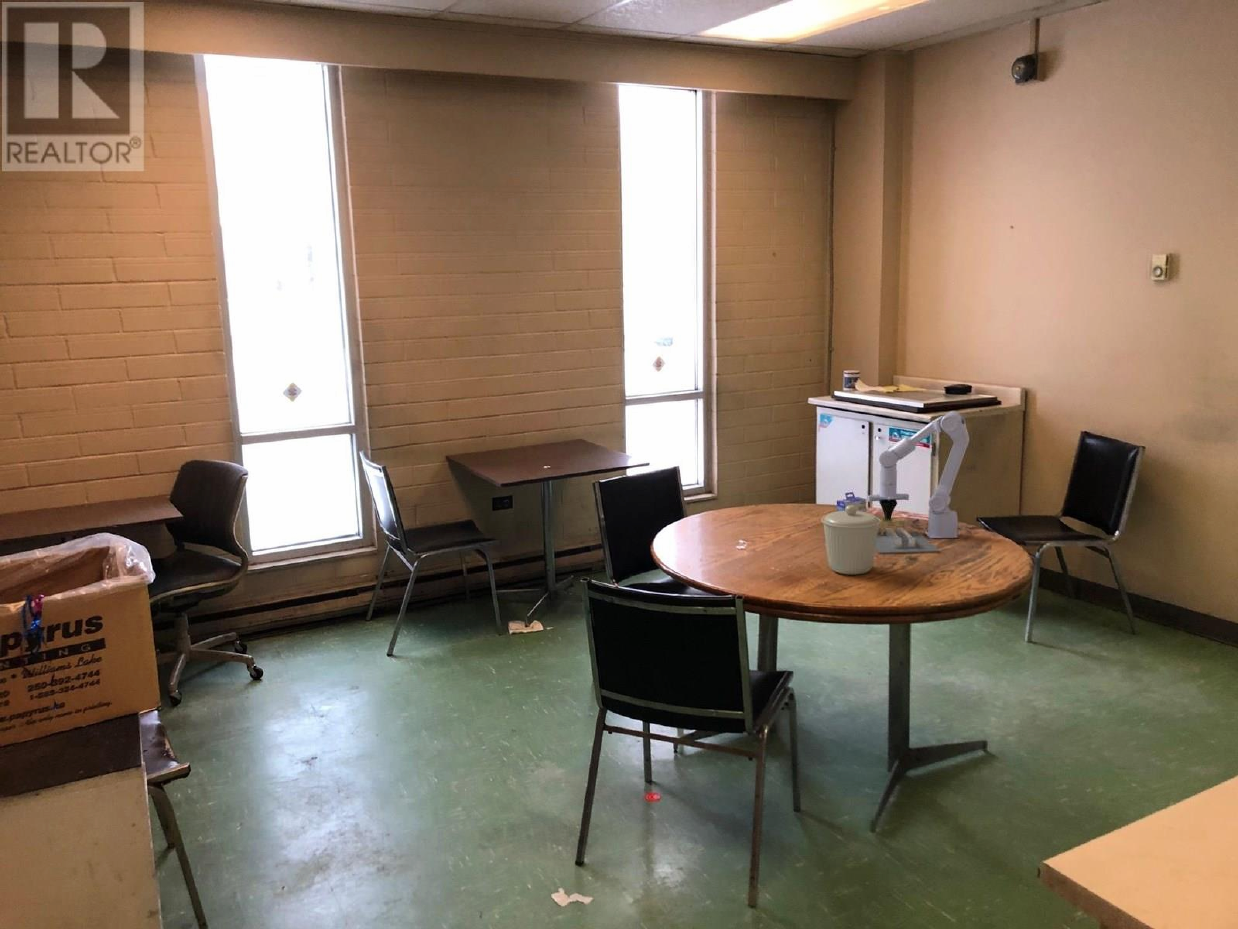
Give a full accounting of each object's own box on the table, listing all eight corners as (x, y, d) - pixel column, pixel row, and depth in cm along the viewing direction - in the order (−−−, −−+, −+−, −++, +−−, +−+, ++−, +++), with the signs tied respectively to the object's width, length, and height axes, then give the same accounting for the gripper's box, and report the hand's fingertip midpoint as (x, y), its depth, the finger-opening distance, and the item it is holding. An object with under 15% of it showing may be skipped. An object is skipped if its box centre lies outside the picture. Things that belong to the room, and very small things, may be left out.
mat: (917, 532, 349) (917, 530, 349) (939, 552, 324) (939, 550, 324) (861, 534, 350) (861, 532, 350) (878, 554, 324) (879, 552, 324)
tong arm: (890, 535, 344) (891, 527, 344) (901, 547, 328) (901, 539, 328) (884, 535, 345) (884, 527, 344) (894, 548, 328) (895, 539, 328)
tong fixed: (902, 534, 344) (902, 526, 344) (915, 547, 328) (915, 538, 328) (896, 535, 344) (896, 526, 344) (908, 547, 328) (908, 539, 328)
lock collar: (902, 532, 347) (902, 518, 347) (904, 534, 345) (904, 520, 344) (878, 533, 348) (879, 519, 347) (880, 535, 345) (881, 521, 344)
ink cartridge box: (857, 528, 358) (857, 490, 355) (867, 532, 353) (867, 492, 350) (835, 532, 353) (836, 493, 351) (845, 535, 349) (845, 496, 346)
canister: (823, 578, 301) (823, 512, 297) (819, 561, 318) (819, 499, 314) (883, 579, 298) (884, 512, 294) (876, 562, 316) (877, 498, 312)
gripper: (872, 486, 344) (871, 523, 347) (912, 484, 345) (911, 521, 348) (865, 482, 351) (865, 519, 354) (905, 480, 352) (904, 516, 355)
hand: (887, 520), depth 351 cm, fingers closed
